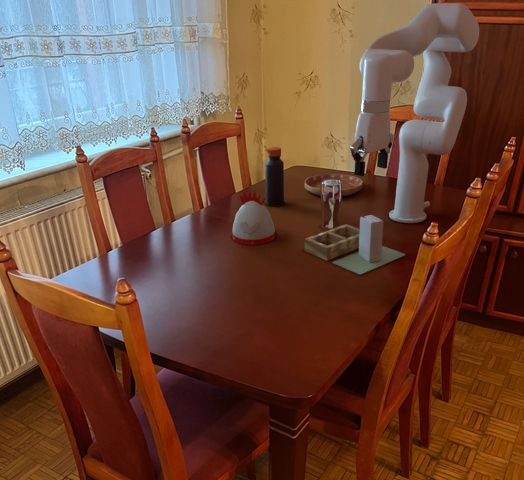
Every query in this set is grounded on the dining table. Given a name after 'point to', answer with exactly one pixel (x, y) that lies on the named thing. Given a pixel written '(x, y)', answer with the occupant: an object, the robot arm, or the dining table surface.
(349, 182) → the shallow brown bowl
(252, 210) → the kitchen timer
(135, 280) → the dining table surface
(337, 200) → the beer glass
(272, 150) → the bottle
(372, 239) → the cosmetic box
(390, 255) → the placemat
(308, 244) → the rack
